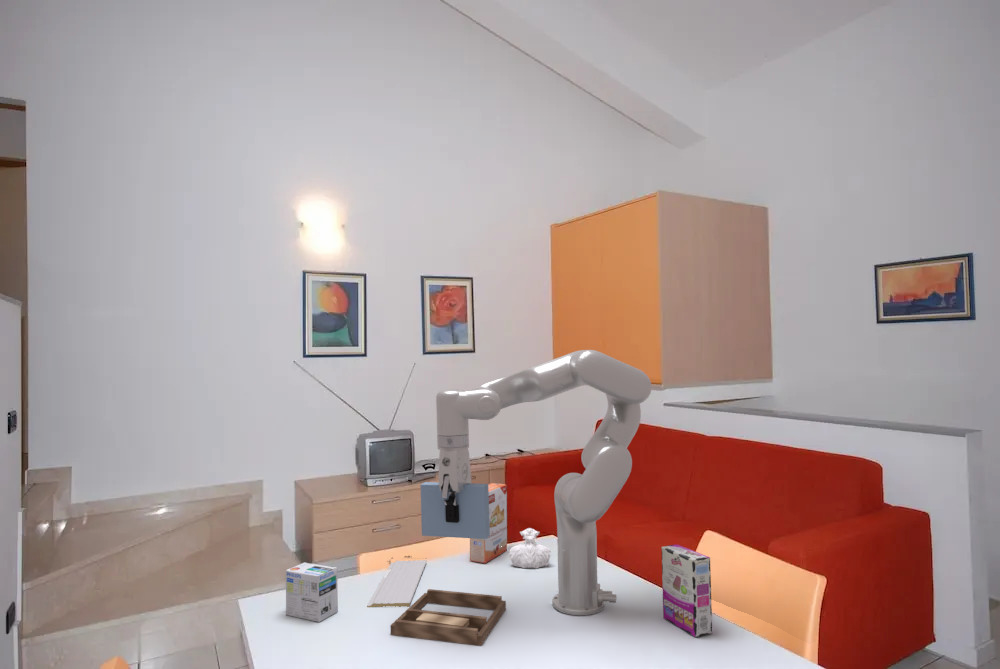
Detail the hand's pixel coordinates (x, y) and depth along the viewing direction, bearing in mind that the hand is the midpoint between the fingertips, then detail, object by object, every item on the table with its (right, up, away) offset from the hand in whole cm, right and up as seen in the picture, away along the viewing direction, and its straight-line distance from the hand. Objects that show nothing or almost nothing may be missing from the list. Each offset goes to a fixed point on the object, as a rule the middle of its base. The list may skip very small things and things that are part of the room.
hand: (455, 519), depth 142 cm
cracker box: (+7, -24, +42) cm, 49 cm away
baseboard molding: (-17, -25, +21) cm, 36 cm away
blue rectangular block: (0, -4, 0) cm, 4 cm away
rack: (0, -22, -3) cm, 23 cm away
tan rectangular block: (-2, -23, -9) cm, 25 cm away
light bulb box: (-34, -23, +2) cm, 42 cm away
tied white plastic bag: (+19, -24, +33) cm, 45 cm away
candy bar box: (+52, -22, -8) cm, 57 cm away
